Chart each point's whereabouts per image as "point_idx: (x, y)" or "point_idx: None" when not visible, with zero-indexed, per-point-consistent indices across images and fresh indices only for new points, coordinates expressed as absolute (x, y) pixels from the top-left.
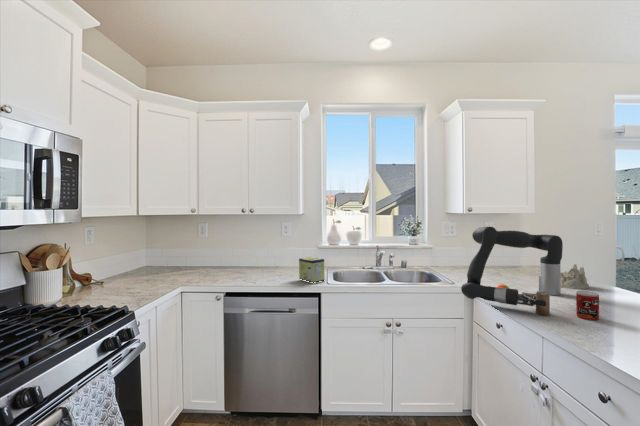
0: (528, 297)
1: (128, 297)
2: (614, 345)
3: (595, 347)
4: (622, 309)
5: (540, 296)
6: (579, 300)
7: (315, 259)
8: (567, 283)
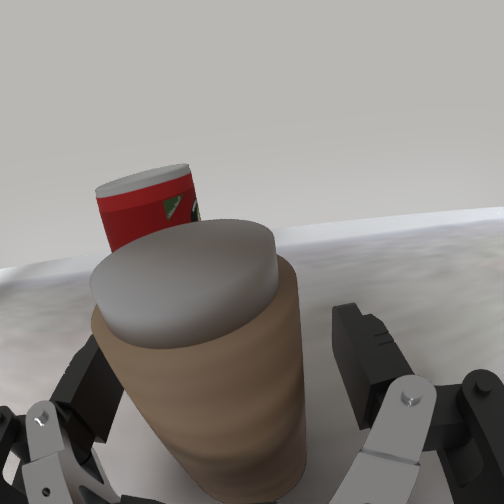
0: (411, 483)
1: None
2: (440, 224)
3: (495, 232)
4: (50, 268)
5: (297, 308)
6: (176, 217)
7: None
8: None
